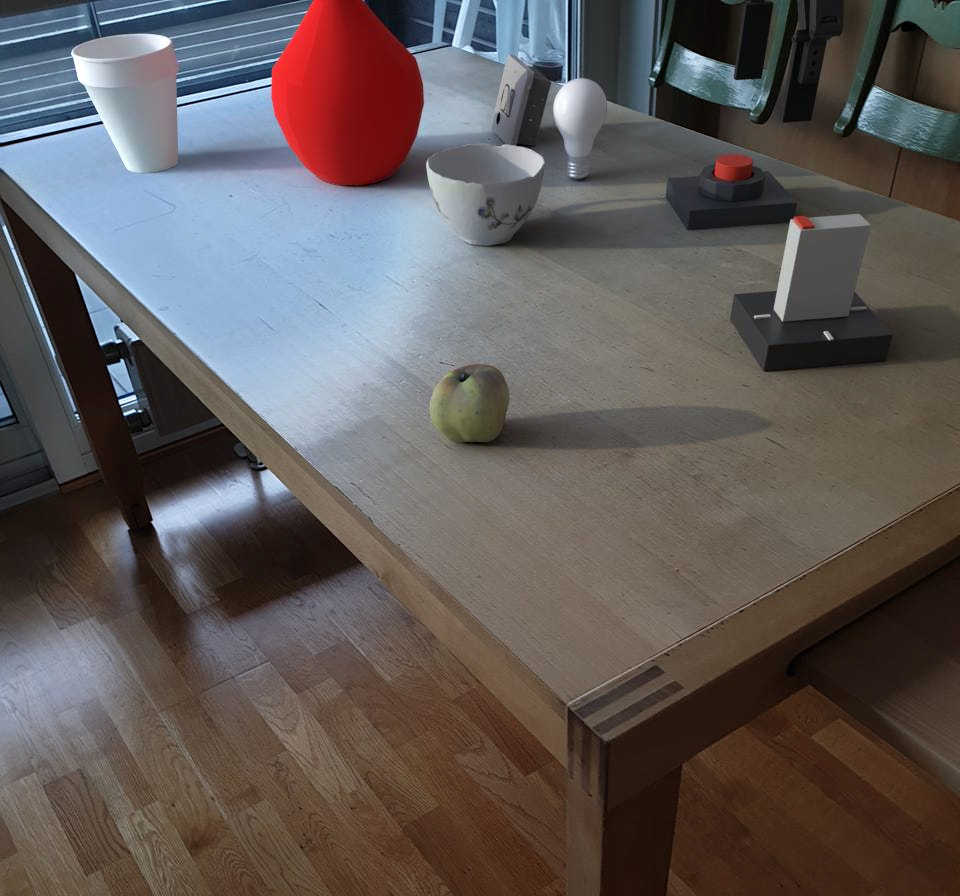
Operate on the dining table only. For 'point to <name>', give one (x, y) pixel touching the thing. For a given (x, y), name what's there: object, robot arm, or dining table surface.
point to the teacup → (485, 189)
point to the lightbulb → (579, 121)
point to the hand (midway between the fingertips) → (770, 99)
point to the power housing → (729, 200)
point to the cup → (134, 96)
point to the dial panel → (808, 335)
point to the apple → (470, 404)
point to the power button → (733, 167)
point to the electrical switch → (520, 103)
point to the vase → (347, 94)
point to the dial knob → (820, 266)
